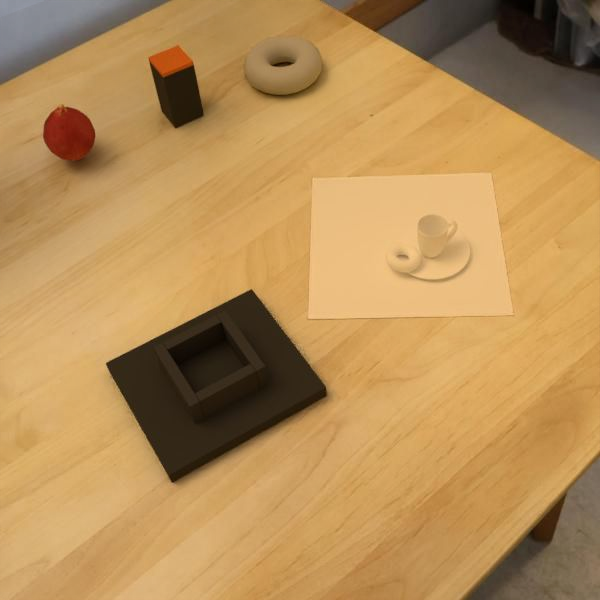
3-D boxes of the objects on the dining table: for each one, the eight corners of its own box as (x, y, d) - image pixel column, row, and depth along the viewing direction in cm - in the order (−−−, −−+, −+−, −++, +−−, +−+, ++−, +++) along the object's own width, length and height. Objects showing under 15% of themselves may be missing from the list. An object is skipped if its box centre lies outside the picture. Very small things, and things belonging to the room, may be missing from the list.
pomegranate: (45, 170, 101) (23, 117, 95) (68, 138, 104) (48, 85, 98) (88, 179, 99) (69, 125, 93) (110, 146, 103) (93, 92, 96)
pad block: (175, 128, 104) (162, 74, 98) (161, 111, 106) (147, 57, 100) (204, 115, 105) (193, 61, 99) (190, 99, 107) (178, 44, 101)
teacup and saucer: (385, 283, 86) (386, 257, 83) (383, 226, 91) (383, 198, 88) (473, 281, 86) (477, 254, 83) (466, 223, 91) (469, 196, 87)
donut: (339, 76, 108) (289, 41, 113) (338, 53, 105) (287, 19, 110) (277, 112, 105) (229, 74, 110) (275, 89, 102) (225, 52, 107)
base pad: (172, 483, 74) (161, 458, 71) (109, 371, 82) (97, 344, 79) (327, 395, 79) (324, 368, 75) (253, 297, 87) (248, 269, 83)
